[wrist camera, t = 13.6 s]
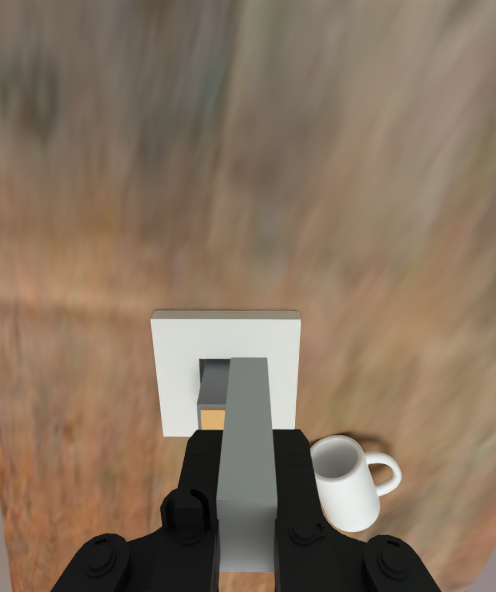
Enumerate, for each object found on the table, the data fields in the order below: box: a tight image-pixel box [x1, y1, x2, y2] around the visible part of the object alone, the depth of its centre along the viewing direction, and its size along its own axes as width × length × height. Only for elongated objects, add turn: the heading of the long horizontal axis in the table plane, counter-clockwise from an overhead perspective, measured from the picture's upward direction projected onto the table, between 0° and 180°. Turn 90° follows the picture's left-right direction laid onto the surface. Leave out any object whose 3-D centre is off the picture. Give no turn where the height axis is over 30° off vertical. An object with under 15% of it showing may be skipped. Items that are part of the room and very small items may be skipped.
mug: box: [310, 435, 401, 532], centre depth 52 cm, size 12×10×8 cm
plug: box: [197, 359, 230, 430], centre depth 45 cm, size 6×6×10 cm
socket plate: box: [151, 310, 301, 437], centre depth 48 cm, size 18×18×3 cm
